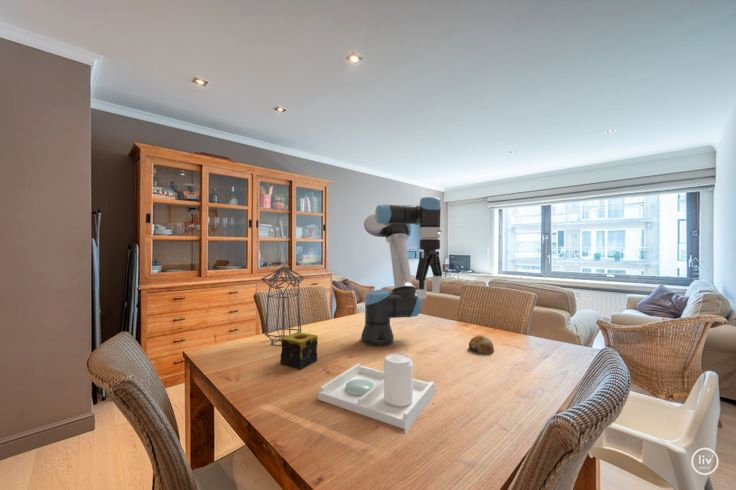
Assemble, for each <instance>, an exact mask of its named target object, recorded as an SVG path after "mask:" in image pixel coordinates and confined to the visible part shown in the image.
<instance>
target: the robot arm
mask: <svg viewBox="0 0 736 490" xmlns="http://www.w3.org/2000/svg"><path fill="white" fill-rule="evenodd" d="M441 209H442V207H441V198H439V197H436V196H425V197H421V198H420V201H419V205H410V204H409V205H408V204H407V205H402V204H399V205H398V204H397V205H395V204H378V205H377V206H376V208H375V212H374V214H370V215H369V216H367V217H366V218H365V220H364V223H363V226H364V230H365V231H366V232H367V234H370V235H371V236H374V237H378V238H385V242H387V243H388V244H389V251H390V259H391V267H392V275H393V283H394V286H393V288H392V289H391V291H390V290H389V289H377V290H371V291H369V292H367V293H366V295H365V300H364V311H365V312H364V327H363V330H362V333H361V336H360V339H361V340H360V341H361V343H363V344H365V345H368V346H374V347H375V346H376V347H380V346H381V347H382V346H389V345H391V344H393V343H394V342H395V341H394V340H395V338H394V337H395V336H394V333H393V330H392V327H391V319H393V318H395V319H396V318H397V319H399V318H409V319H410V318H414V317H418V316H419V315H420V313H421V312H422V306H423V299H424V300H426V299H427V280H426V279H427V274H428V272H429V268H430V269H431V272H432V276H431V278H432V279H431V281H432V283H431V284H432V285H431V286H432V287H431V288H432V289H431V293H435V294H436V293H437V294H440V281H441V280H440V277H442V276H443V273H442V266H441V259H440V251H439V250H440V249H441V240H440V238H441V233H442V229H441ZM411 225H415V226H417V225H419V238H420V240H419V249H420V250H423V252H421V251H420V252H419V258H418V264H417V267H416V273H415V280H416V281H418V291H417V288H416V286H415V285H414V284H413V283H412V282H413V281H412V275H411V274H412V273H411V267H410V260H409V255H408V247H407V240H408V239H409V237H410V236H411V234H412V233H411V231H412V230H411V229H412V226H411Z"/></svg>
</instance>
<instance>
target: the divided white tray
mask: <svg viewBox="0 0 736 490" xmlns="http://www.w3.org/2000/svg"><path fill="white" fill-rule="evenodd" d="M355 379H364V380H368V381H370V382H372V383H373V388H371V389H370V390H369V391H368V392H366V393H365V394H364V395H363V396H353V395H350V394H348V393H347V392H346V384H347V383H348V382H349V381H351V380H355ZM435 395H436V384H435V382H434V381H432V380H430V381H429V382H428V381H424V380H420V379H417V378H413V401H412V402H411V403H410V404H408V405H405V406H394V405H391V404H389V403H387V402H386V401H385V399H384V370H380V369H377V368H371V367H368V366H364V365H361V363H356V364H355V365H353V366H352V367H349V369H347V370H345V371H344V372H343V373H340V374H339V375H338V376H336V377H334V378H332V379H330V380H329V381H328V382H326V383H325V384H323V385H322V386H320V387H319V391H318V392H317V400H319V401H323V402H324V403H327V404H331V405H333V406H336V407H338V408H342V409H344V410H348V411H352V412H354V413H356V414H359V415H362V416H366V417H368V418H371V419H375V420H377V421H380V422H383V423H384V424H385V423H386V424H388V425H391V426H395V427H398V428H401V429H403V430H404V431H403V432H402V434H403V435H406V434H407V432H409V430H410V429H411V428H412V427H413V424H414V423H415V422H416V421H417V420H418V418H419V417H420V415H422V413H423V411H424V410H425V409H426V408H427V406H428V405H429V404H430V402H432V400H433V398H434V397H435Z"/></svg>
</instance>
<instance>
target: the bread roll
mask: <svg viewBox="0 0 736 490" xmlns="http://www.w3.org/2000/svg"><path fill="white" fill-rule="evenodd" d="M468 348H469V350H470V351H471V352H473V353H477V354H483V355H487V354H493V353H494V352H495V350H494V343H493V342H492V340H491V339H490V338H489V337H487V336H485V335H479V334H478V335H476V336H474V337H472V338H471V339H470V341H469V342H468Z"/></svg>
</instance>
